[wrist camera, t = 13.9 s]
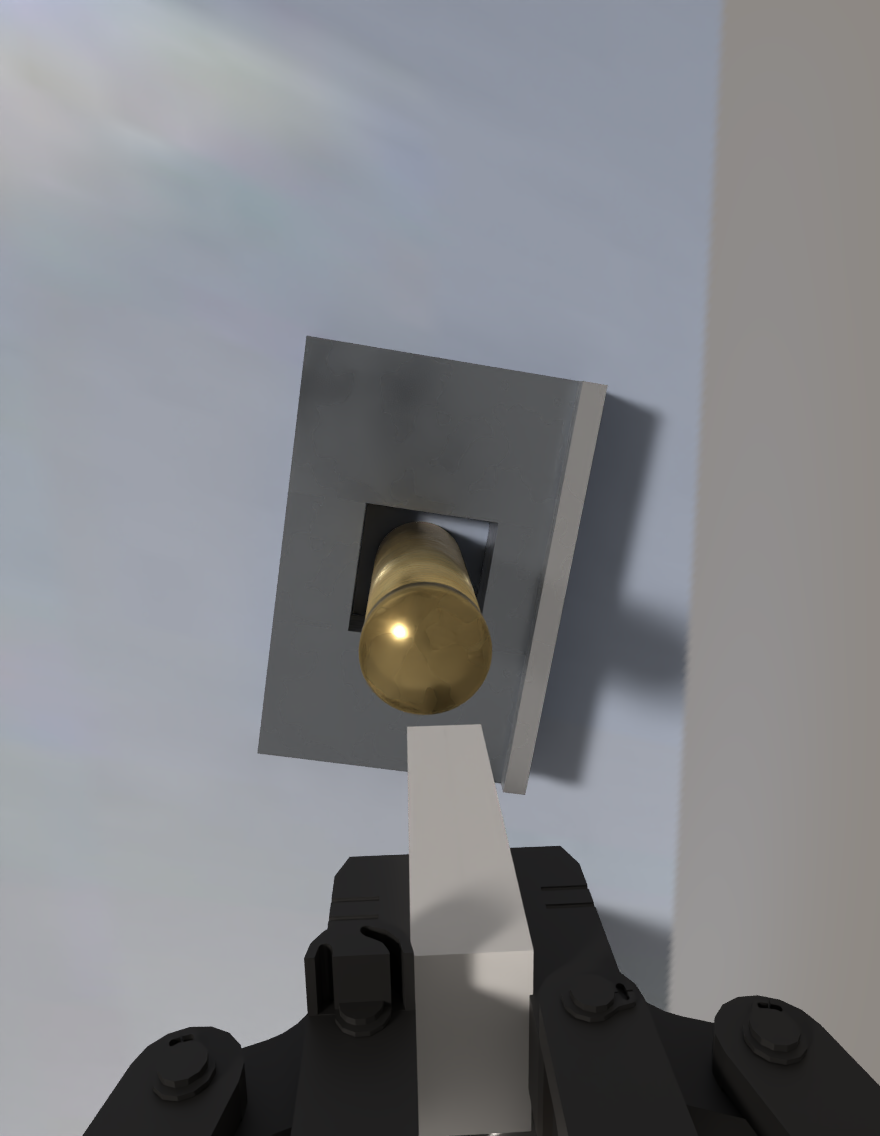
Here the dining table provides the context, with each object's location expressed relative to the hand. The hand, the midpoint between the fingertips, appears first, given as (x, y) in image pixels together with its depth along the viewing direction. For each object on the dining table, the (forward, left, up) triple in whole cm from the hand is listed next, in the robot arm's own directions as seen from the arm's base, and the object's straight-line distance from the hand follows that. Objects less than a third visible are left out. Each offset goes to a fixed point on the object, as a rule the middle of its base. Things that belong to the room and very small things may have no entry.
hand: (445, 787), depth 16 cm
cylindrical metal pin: (0, 0, -20) cm, 20 cm away
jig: (0, 0, -20) cm, 20 cm away
